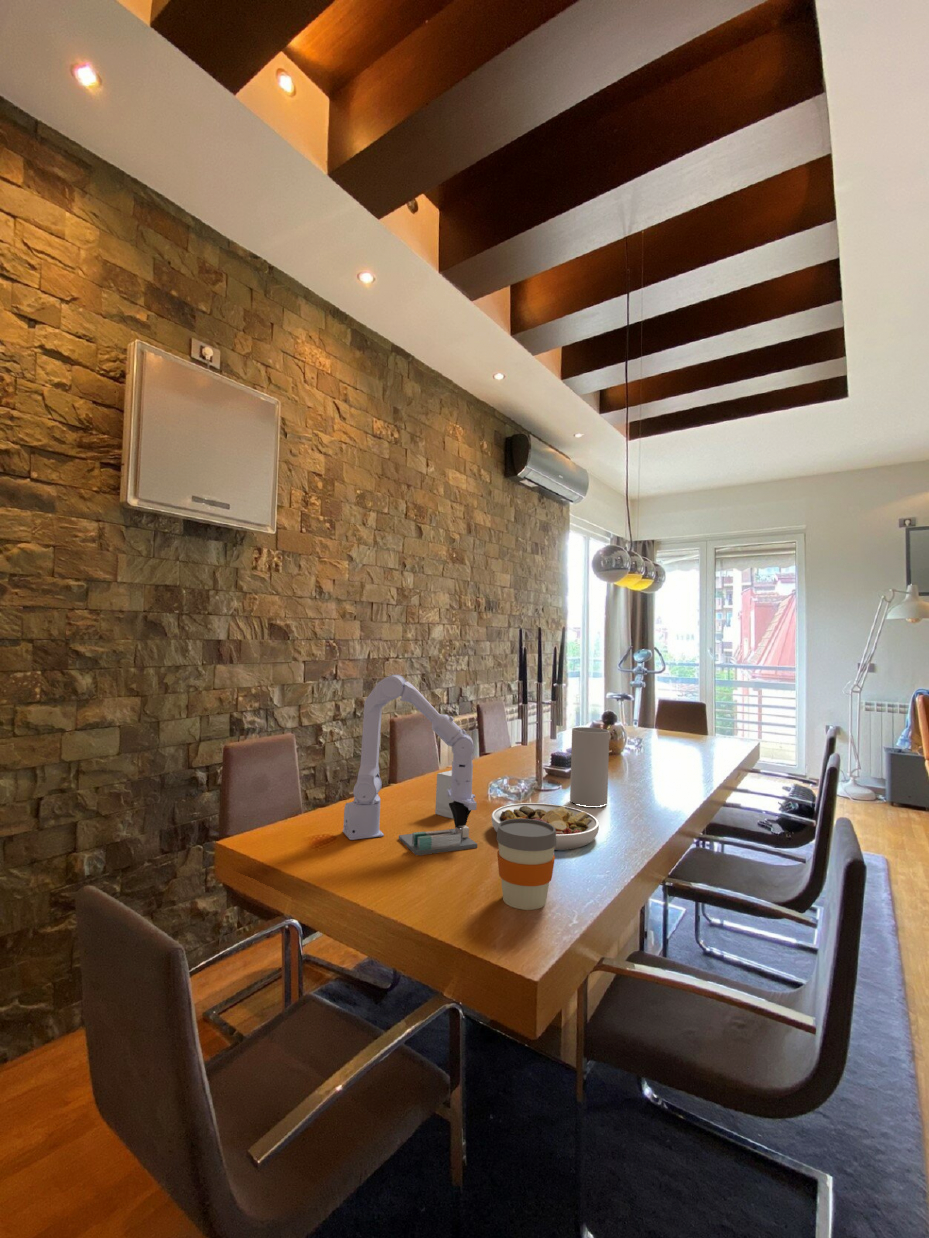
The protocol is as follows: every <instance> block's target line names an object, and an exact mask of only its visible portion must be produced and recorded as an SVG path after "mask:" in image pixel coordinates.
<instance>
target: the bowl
mask: <svg viewBox="0 0 929 1238" xmlns="http://www.w3.org/2000/svg"><path fill="white" fill-rule="evenodd" d="M508 819H534V820H539V821H543V822H546V823H549V824H551V825H553V826H554V827H555V829H556V841H557V844H556V846H555V847H554V851H566V850H574V849H579V848H581V847H584V846H586V845H588V844H590V843H592V842H593V841H594V839H595V838H596V837H597V836H598V833H599V830H600V829H599V828H600V822H599V820H598V819H597V818H596V817H595V816H594V815H592V814H590V813H588V812H586V811H583V810H581V809H577V808H573V807H570V806H566V805H560V804H552V803H543V802H542V803H541V802H539V803H538V802H525V803H512V804H507V805H503V806H501V807H498V808H495V810H493V812H491V824H492V827H493V829H494V831H495V832H496V833H497V831H498V825H499V823H500V822H502V821H504V820H508Z"/></svg>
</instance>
